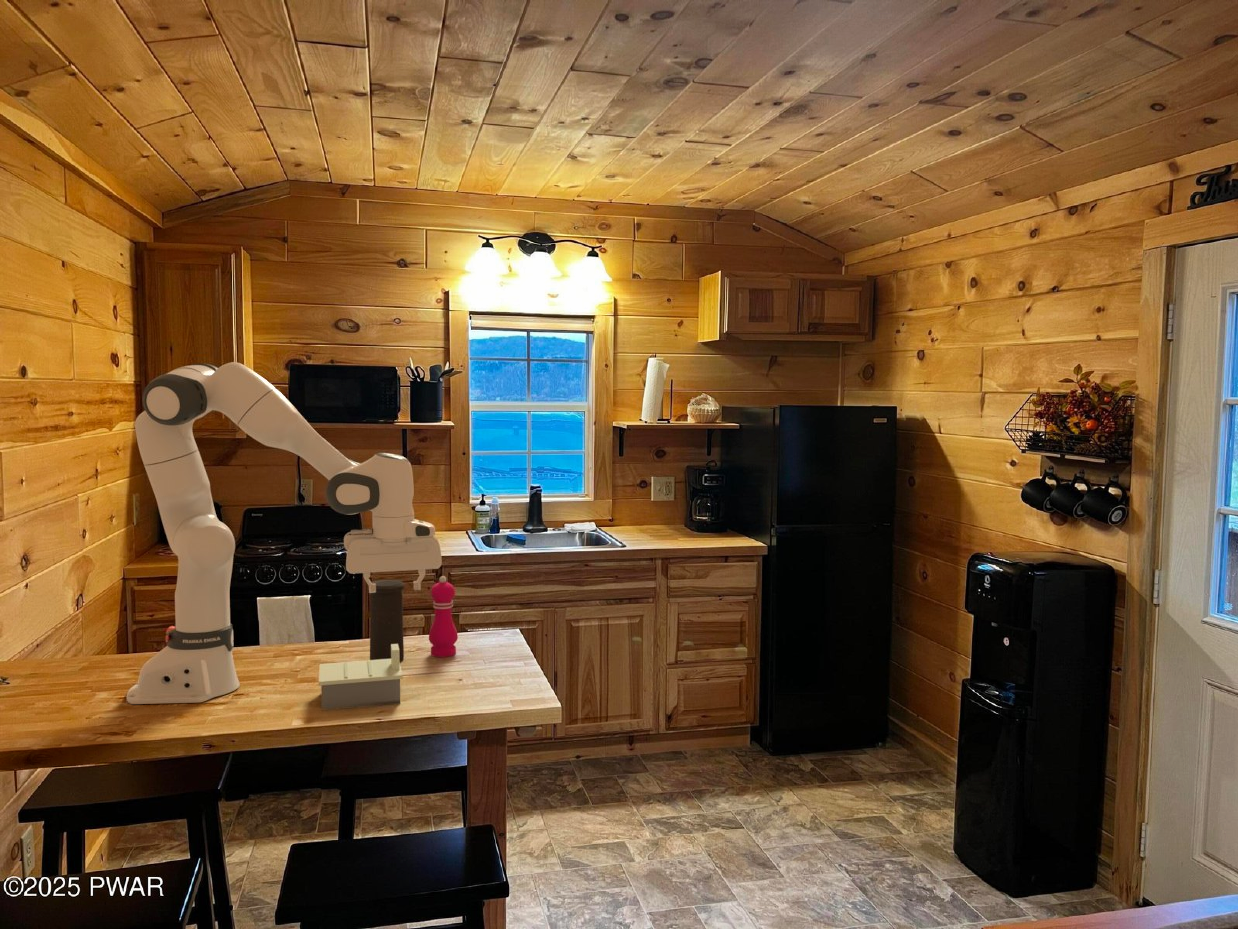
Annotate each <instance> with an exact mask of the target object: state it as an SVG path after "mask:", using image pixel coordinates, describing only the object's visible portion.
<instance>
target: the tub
mask: <svg viewBox="0 0 1238 929" xmlns="http://www.w3.org/2000/svg"><path fill="white" fill-rule="evenodd" d="M320 687H321V690H320V691H321V692H320V693H321V711H330V710H331V709H332V710H340V709H339V708H343V709H353V708H364V707H374V706H385V705H387V706H388V705H397V704H401V679H394V680H381V681H369V682H357V683H345V684H332V685H320ZM337 708H338V709H337Z"/></svg>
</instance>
